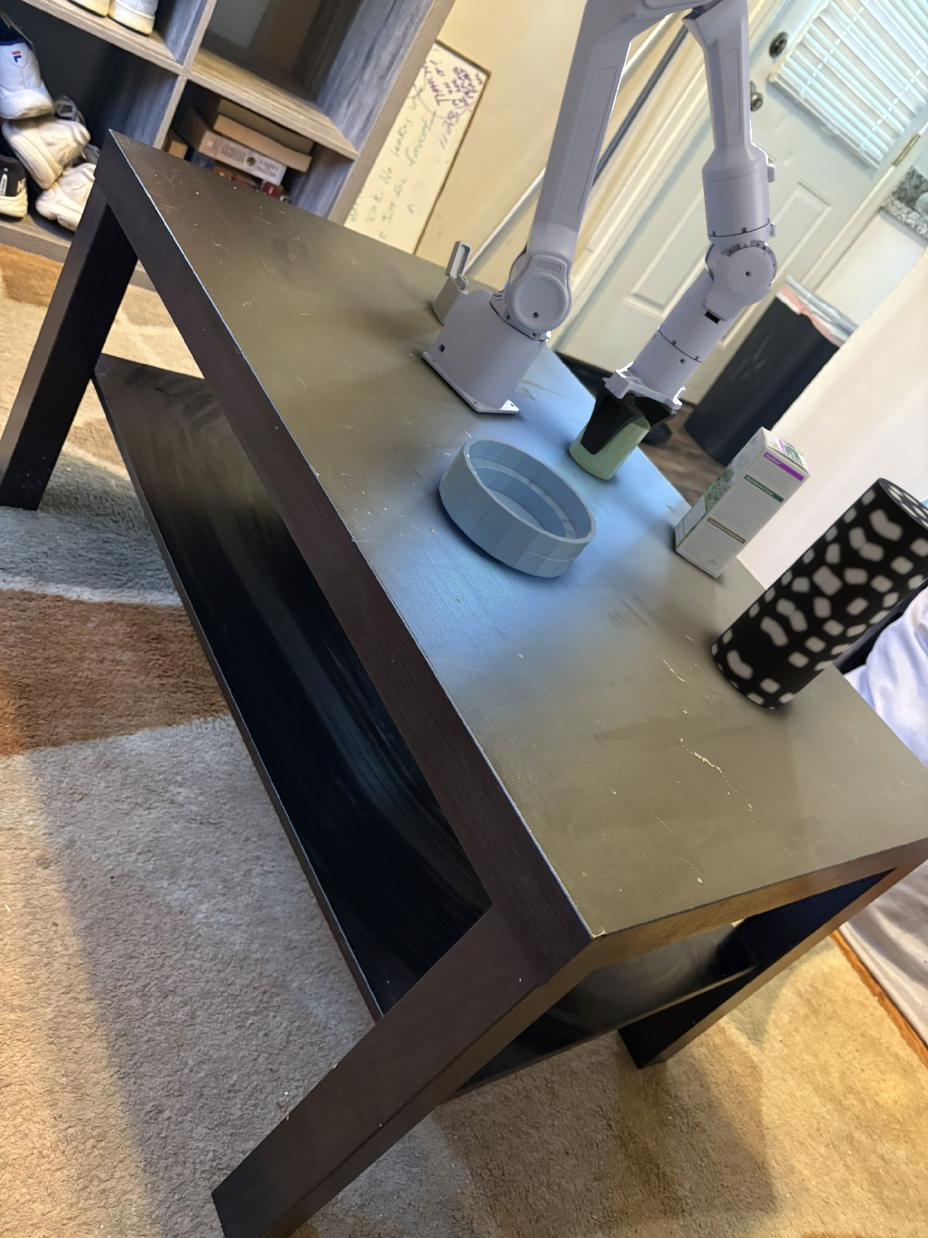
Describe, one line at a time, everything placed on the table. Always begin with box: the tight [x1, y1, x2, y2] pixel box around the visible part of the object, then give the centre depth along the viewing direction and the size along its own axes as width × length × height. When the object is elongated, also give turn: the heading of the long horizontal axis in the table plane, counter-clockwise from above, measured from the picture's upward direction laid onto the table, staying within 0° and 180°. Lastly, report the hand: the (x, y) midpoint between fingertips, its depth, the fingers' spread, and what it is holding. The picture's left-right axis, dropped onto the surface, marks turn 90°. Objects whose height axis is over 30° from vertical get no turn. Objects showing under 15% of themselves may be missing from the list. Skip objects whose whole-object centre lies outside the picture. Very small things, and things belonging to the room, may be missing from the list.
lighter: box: [431, 240, 473, 325], centre depth 105 cm, size 7×2×8 cm, turn 20°
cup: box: [568, 416, 651, 481], centre depth 96 cm, size 6×6×7 cm
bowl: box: [438, 436, 597, 579], centre depth 73 cm, size 13×13×4 cm
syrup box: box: [673, 426, 812, 579], centre depth 91 cm, size 6×6×14 cm
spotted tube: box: [711, 477, 928, 710], centre depth 75 cm, size 8×8×20 cm
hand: (600, 448), depth 97 cm, fingers closed on cup, 6 cm apart
